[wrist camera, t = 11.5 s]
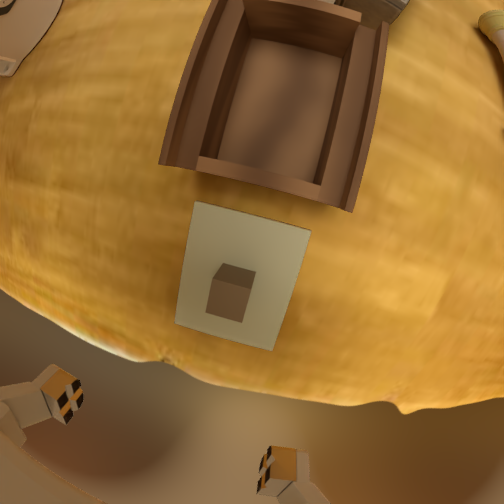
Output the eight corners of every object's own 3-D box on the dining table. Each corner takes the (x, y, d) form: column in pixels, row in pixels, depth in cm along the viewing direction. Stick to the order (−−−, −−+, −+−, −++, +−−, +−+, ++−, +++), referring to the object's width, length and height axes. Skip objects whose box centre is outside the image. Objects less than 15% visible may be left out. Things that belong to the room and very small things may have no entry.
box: (195, 168, 23) (158, 164, 16) (234, 32, 19) (217, -13, 12) (330, 202, 22) (352, 213, 15) (362, 61, 19) (389, 23, 11)
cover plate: (178, 317, 28) (159, 344, 23) (198, 200, 24) (178, 205, 19) (272, 344, 27) (270, 376, 22) (309, 228, 24) (317, 241, 19)
